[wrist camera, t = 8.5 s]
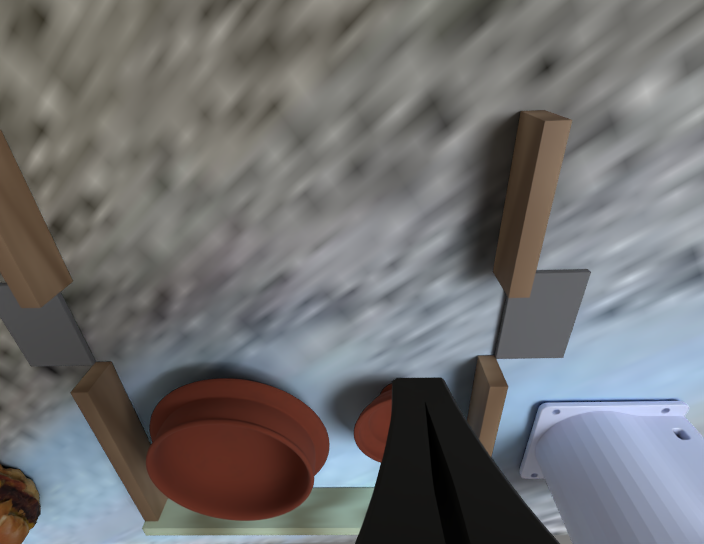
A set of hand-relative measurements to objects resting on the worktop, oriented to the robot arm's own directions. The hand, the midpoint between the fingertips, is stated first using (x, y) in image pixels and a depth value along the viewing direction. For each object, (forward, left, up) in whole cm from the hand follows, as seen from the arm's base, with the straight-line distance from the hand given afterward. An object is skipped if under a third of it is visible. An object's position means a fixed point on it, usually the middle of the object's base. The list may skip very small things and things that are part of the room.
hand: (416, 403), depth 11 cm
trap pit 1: (+21, +5, -10) cm, 24 cm away
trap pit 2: (-8, +5, -10) cm, 14 cm away
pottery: (+6, +13, -11) cm, 18 cm away
